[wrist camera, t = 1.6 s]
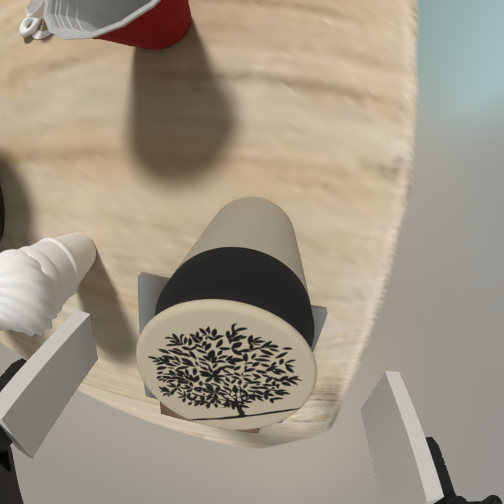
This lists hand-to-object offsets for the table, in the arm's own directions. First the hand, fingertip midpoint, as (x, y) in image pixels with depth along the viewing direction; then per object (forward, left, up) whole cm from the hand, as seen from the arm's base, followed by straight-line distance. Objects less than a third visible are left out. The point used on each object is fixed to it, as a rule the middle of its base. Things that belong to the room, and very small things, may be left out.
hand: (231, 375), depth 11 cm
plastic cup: (-12, +20, -18) cm, 29 cm away
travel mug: (0, 0, -18) cm, 18 cm away
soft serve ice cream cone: (-19, -5, -18) cm, 27 cm away
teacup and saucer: (-32, +27, -18) cm, 46 cm away
